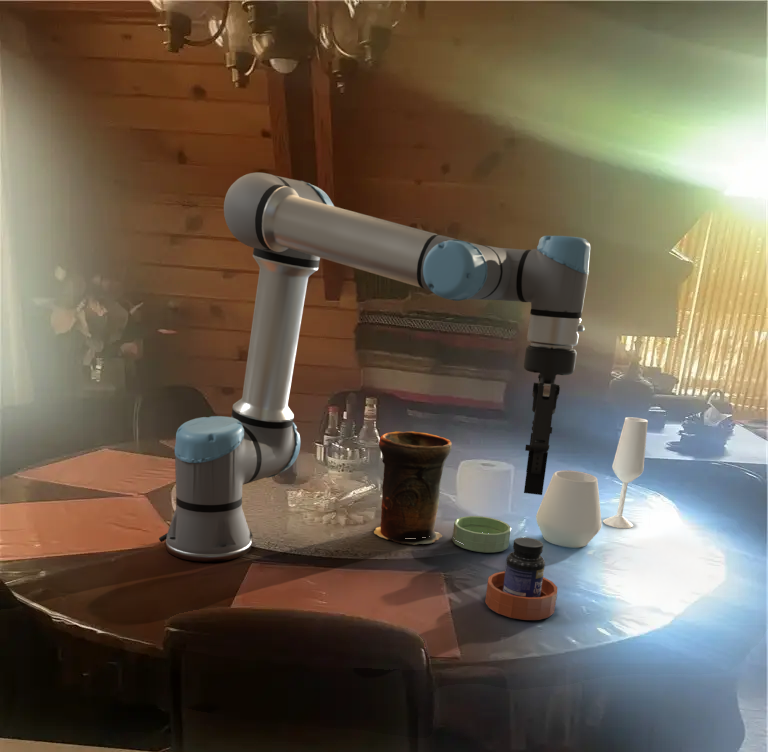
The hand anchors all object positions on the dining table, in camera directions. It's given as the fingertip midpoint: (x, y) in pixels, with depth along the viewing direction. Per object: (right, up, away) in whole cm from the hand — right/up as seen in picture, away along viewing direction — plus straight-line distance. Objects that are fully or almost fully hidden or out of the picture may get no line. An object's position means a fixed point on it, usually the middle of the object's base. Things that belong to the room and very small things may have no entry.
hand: (533, 482), depth 120 cm
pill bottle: (-1, -20, +5) cm, 21 cm away
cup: (+14, -11, +39) cm, 43 cm away
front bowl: (-1, -20, +5) cm, 21 cm away
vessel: (-19, -9, +35) cm, 41 cm away
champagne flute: (+30, -7, +53) cm, 61 cm away
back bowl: (-4, -11, +33) cm, 35 cm away
